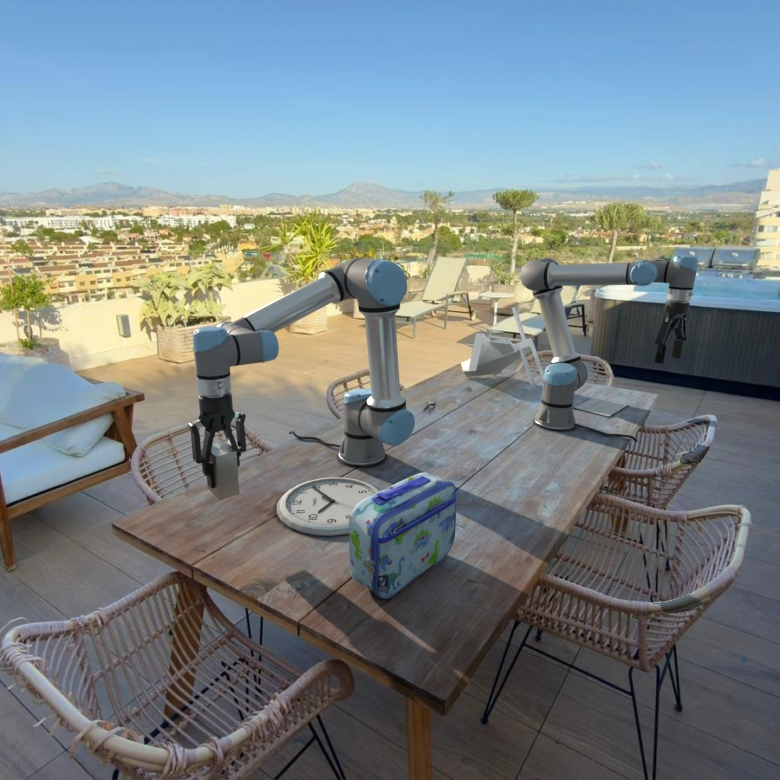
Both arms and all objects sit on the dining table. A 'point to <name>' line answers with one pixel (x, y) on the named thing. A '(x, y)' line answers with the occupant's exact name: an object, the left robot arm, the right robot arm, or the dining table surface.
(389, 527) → the lunch box
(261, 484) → the dining table surface
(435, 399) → the fork
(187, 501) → the dining table surface
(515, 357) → the white plastic object
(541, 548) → the dining table surface
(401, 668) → the dining table surface
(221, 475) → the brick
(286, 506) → the wall clock
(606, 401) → the invitation card
